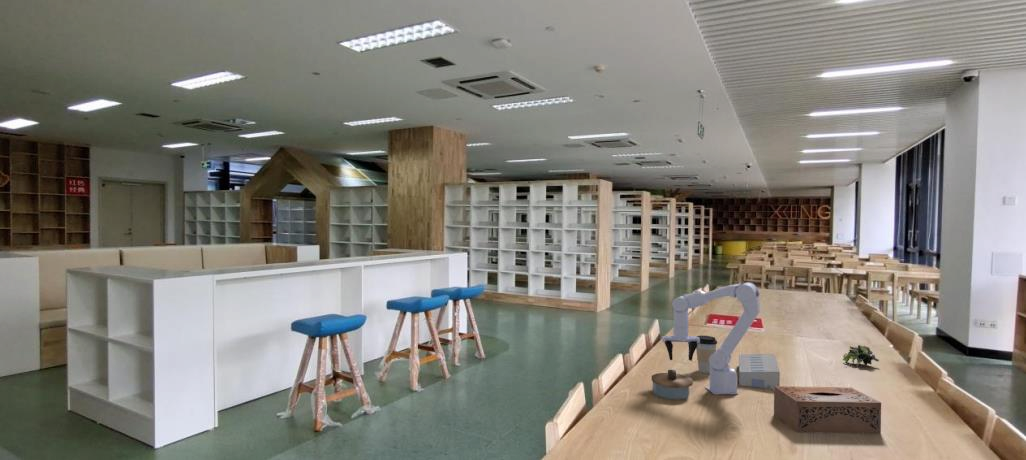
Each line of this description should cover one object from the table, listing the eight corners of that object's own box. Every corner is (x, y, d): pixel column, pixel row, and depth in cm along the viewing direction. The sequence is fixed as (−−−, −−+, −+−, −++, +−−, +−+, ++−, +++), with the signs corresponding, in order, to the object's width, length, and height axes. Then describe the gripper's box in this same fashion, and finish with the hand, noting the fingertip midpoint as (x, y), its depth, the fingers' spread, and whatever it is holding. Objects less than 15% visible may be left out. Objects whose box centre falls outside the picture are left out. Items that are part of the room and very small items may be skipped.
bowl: (680, 388, 198) (680, 375, 198) (694, 399, 185) (694, 386, 185) (648, 388, 197) (648, 376, 197) (660, 400, 184) (660, 386, 184)
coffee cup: (719, 375, 215) (719, 340, 215) (695, 373, 217) (696, 339, 216) (714, 369, 224) (715, 335, 224) (692, 367, 226) (692, 334, 226)
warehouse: (739, 366, 229) (739, 350, 229) (774, 370, 223) (774, 353, 223) (739, 386, 202) (739, 367, 202) (779, 391, 196) (779, 371, 196)
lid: (685, 375, 198) (685, 365, 198) (698, 388, 183) (698, 377, 183) (647, 375, 198) (647, 365, 198) (657, 387, 183) (657, 376, 183)
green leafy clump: (864, 376, 233) (884, 358, 229) (856, 376, 226) (876, 357, 222) (843, 358, 241) (861, 340, 236) (834, 357, 234) (853, 338, 230)
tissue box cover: (796, 433, 156) (796, 401, 156) (773, 415, 171) (774, 386, 171) (880, 434, 156) (881, 402, 155) (850, 416, 170) (851, 387, 170)
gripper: (664, 328, 199) (664, 362, 199) (702, 328, 198) (701, 362, 198) (660, 324, 206) (660, 357, 206) (696, 325, 205) (696, 358, 205)
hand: (680, 359), depth 202 cm, fingers open, 7 cm apart
